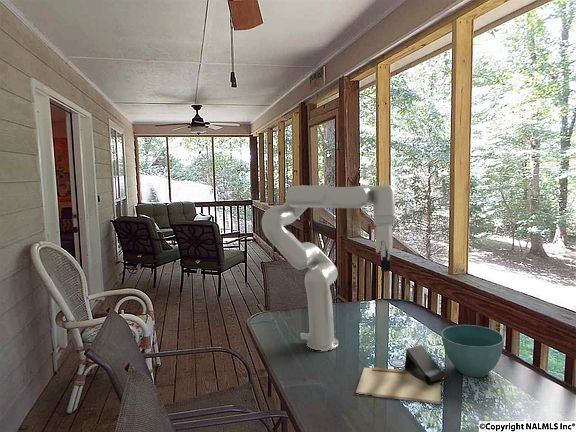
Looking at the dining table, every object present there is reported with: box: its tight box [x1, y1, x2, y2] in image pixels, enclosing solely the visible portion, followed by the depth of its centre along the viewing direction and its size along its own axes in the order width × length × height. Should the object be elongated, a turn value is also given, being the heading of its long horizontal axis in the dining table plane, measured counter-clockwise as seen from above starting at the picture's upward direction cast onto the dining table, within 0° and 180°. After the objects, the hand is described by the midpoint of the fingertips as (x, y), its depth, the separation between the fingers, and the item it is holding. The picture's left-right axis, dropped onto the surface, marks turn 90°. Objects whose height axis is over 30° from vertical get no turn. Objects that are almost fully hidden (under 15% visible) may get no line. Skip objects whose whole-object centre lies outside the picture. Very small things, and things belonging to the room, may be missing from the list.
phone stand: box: [403, 344, 447, 385], centre depth 129 cm, size 9×6×12 cm
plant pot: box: [440, 324, 505, 378], centre depth 131 cm, size 18×18×12 cm
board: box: [355, 366, 442, 405], centre depth 126 cm, size 24×16×1 cm, turn 71°
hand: (386, 270), depth 146 cm, fingers closed
